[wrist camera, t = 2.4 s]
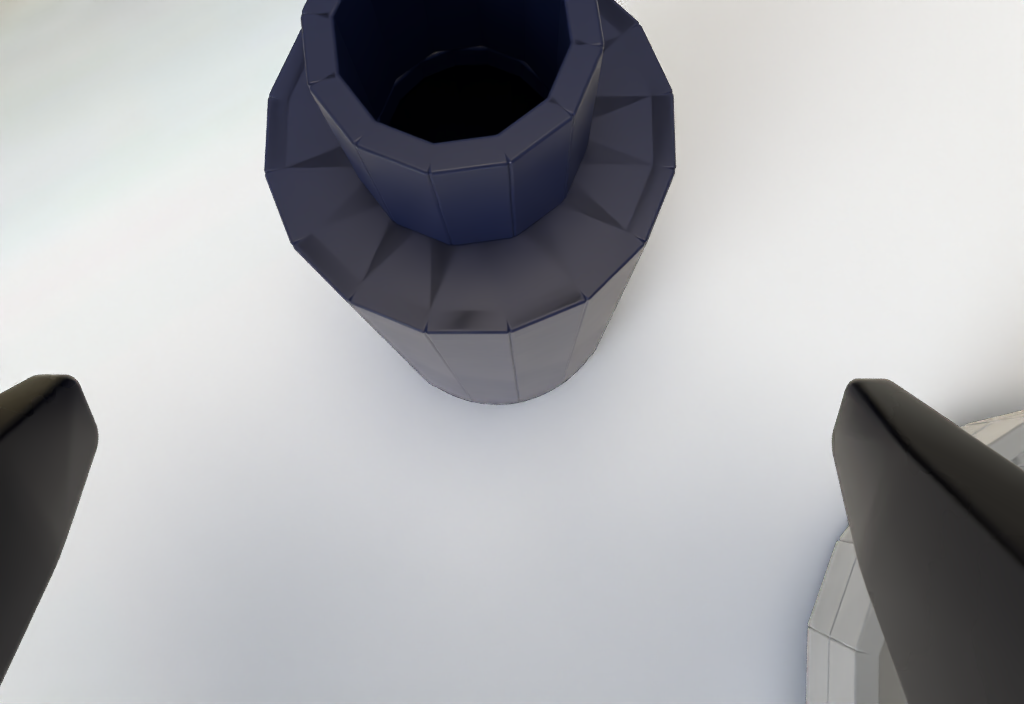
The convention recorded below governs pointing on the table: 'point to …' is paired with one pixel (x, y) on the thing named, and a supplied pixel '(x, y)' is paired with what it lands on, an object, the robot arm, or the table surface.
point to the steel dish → (850, 615)
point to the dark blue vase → (473, 176)
